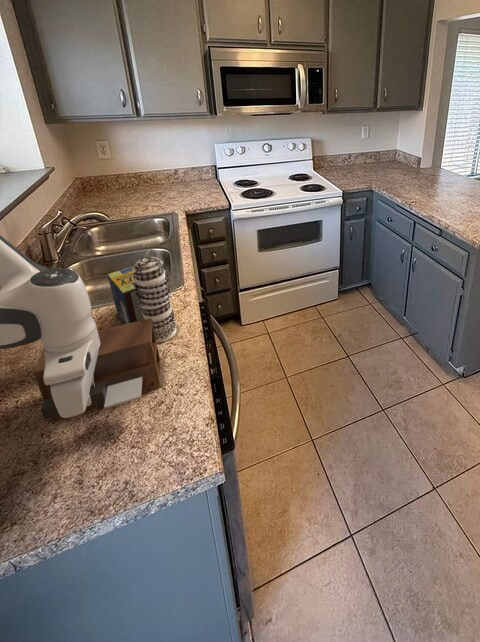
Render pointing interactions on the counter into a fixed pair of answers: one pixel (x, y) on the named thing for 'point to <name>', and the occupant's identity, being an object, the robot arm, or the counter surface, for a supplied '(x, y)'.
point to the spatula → (102, 396)
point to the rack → (120, 358)
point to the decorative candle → (155, 296)
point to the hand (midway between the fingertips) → (88, 397)
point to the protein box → (125, 295)
